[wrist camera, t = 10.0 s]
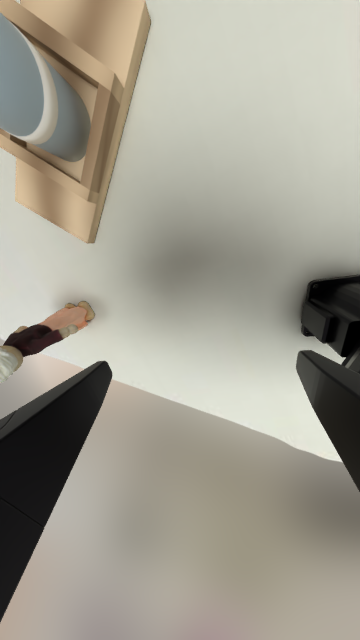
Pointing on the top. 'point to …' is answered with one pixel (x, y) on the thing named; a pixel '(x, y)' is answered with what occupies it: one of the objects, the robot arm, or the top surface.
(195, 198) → the top surface
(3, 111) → the tower
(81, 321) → the grandmother figurine
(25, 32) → the plinth
